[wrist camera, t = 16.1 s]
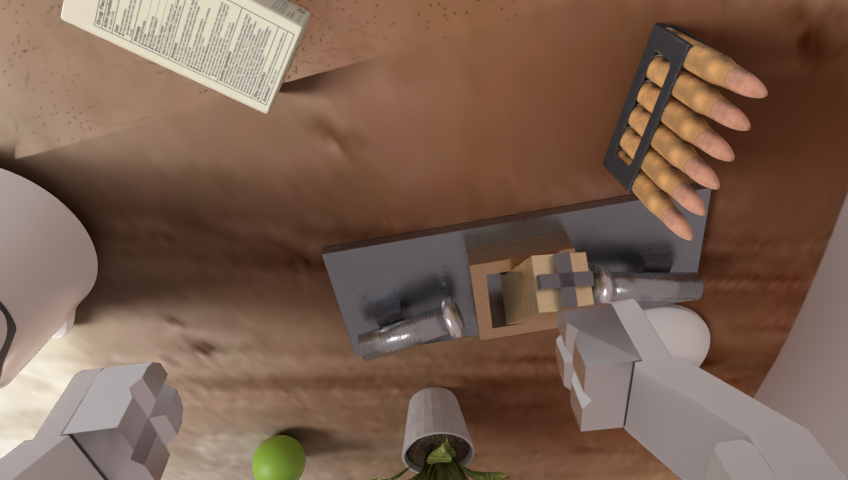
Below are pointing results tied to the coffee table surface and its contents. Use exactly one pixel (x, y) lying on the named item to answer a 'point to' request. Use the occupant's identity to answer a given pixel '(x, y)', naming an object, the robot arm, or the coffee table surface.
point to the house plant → (438, 439)
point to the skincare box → (204, 39)
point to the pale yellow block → (546, 287)
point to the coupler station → (498, 260)
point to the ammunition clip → (677, 123)
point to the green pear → (279, 459)
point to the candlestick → (680, 331)
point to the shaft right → (646, 282)
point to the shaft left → (409, 328)
